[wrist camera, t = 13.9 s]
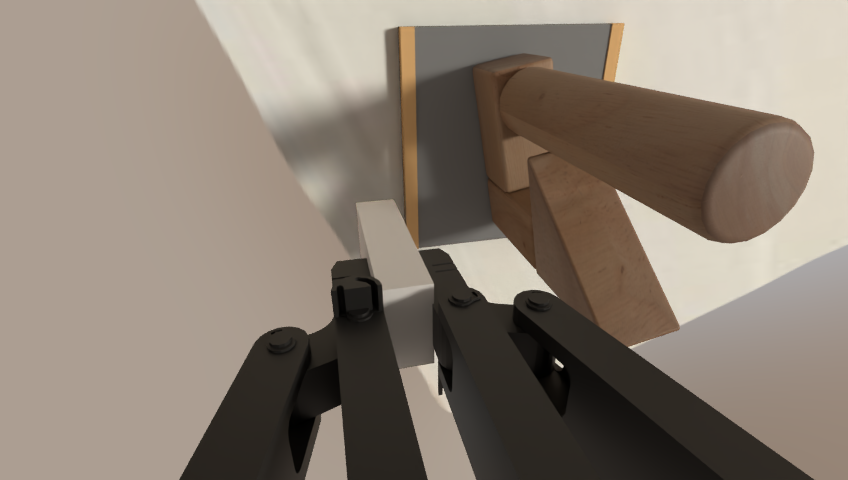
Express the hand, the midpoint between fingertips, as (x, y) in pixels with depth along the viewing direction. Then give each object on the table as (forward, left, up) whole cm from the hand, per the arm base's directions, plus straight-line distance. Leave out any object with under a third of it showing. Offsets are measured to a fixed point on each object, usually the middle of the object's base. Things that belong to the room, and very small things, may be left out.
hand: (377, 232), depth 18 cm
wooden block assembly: (0, +10, -11) cm, 15 cm away
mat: (0, +10, -11) cm, 15 cm away
